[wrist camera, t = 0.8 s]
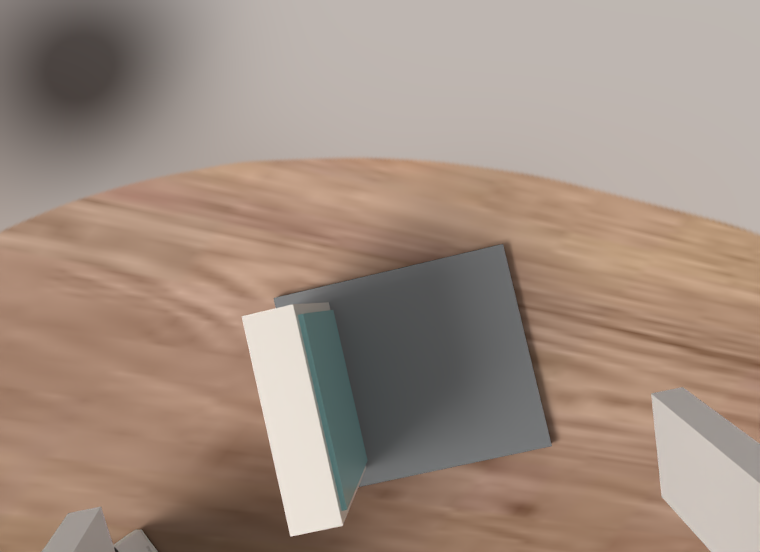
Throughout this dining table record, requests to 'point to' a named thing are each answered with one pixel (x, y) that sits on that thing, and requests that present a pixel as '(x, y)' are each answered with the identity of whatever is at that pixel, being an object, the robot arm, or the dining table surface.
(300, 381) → the tile
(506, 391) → the mat
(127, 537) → the tea box
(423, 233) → the dining table surface
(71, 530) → the robot arm
